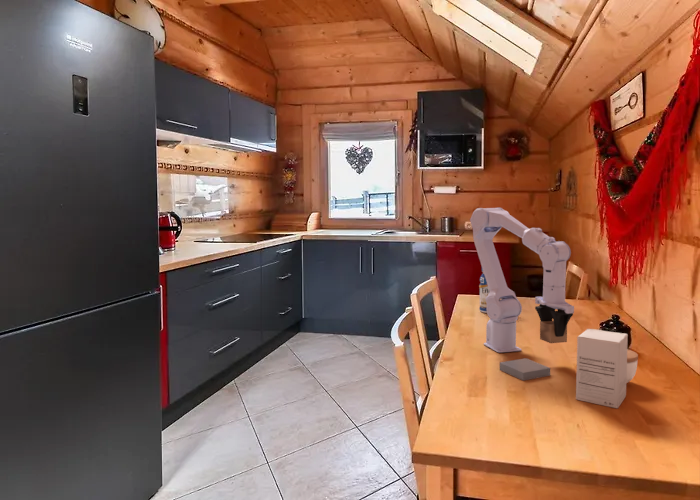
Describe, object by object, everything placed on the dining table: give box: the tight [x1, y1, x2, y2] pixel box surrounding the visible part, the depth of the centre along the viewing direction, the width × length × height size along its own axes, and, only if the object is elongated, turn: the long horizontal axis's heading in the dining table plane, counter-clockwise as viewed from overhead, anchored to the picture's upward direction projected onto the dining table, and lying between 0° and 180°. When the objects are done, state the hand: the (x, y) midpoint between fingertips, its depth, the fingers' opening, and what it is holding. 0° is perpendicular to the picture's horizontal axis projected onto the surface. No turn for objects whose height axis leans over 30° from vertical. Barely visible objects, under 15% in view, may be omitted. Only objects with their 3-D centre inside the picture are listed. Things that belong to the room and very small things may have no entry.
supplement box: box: [575, 328, 629, 409], centre depth 115 cm, size 9×9×15 cm
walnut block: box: [539, 320, 568, 344], centre depth 140 cm, size 5×5×5 cm
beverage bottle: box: [478, 268, 501, 314], centre depth 206 cm, size 8×8×20 cm
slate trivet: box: [499, 357, 551, 381], centre depth 133 cm, size 9×9×2 cm
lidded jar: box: [626, 348, 639, 384], centre depth 125 cm, size 11×11×9 cm
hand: (553, 333), depth 140 cm, fingers closed on walnut block, 5 cm apart
